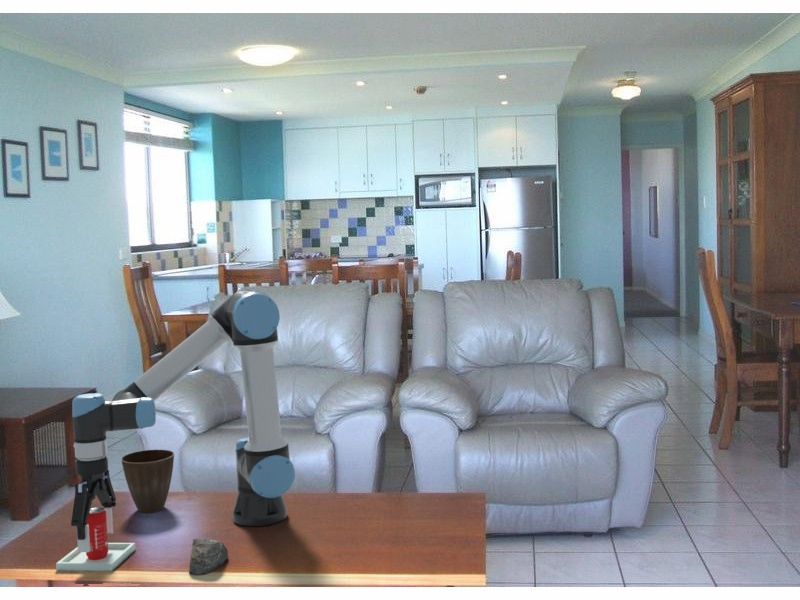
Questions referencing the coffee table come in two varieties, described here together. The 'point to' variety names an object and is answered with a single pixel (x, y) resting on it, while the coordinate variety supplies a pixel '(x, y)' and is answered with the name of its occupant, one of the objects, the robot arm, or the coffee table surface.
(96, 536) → the beverage can
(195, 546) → the rock
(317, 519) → the coffee table surface
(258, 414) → the robot arm
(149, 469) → the plant pot
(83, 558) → the tray
